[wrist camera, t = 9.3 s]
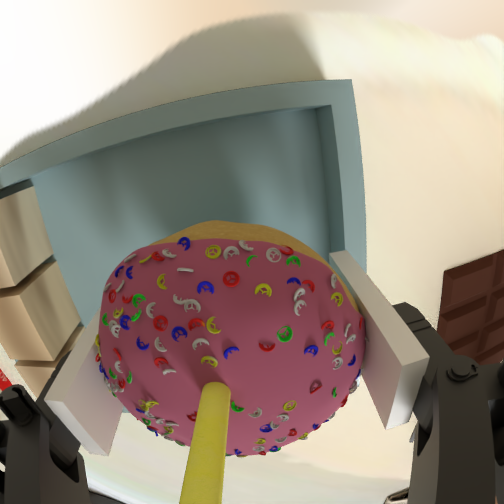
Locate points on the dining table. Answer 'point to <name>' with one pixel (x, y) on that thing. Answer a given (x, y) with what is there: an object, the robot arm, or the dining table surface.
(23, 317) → the block
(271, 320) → the cupcake
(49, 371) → the block
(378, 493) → the dining table surface
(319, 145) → the tray
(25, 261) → the block
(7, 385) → the kitchen timer
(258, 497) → the dining table surface
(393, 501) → the newspaper
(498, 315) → the chocolate bar
